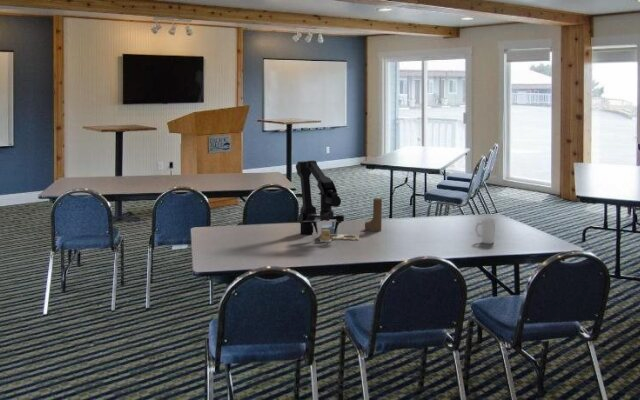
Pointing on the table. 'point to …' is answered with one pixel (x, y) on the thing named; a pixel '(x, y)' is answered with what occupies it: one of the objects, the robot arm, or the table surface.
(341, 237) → the board
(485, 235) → the mug
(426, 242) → the table surface
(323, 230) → the block
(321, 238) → the mat
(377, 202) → the wooden block
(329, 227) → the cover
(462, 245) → the table surface
